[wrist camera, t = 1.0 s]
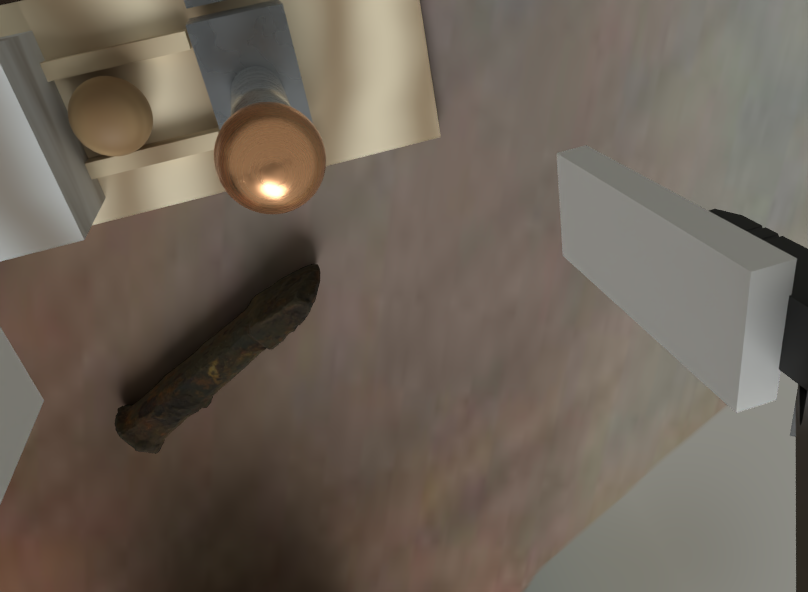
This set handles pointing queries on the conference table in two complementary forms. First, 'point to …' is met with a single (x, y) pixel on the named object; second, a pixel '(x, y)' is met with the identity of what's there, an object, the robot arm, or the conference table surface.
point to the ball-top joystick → (258, 107)
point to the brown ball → (110, 116)
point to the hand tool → (218, 361)
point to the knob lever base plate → (182, 102)
